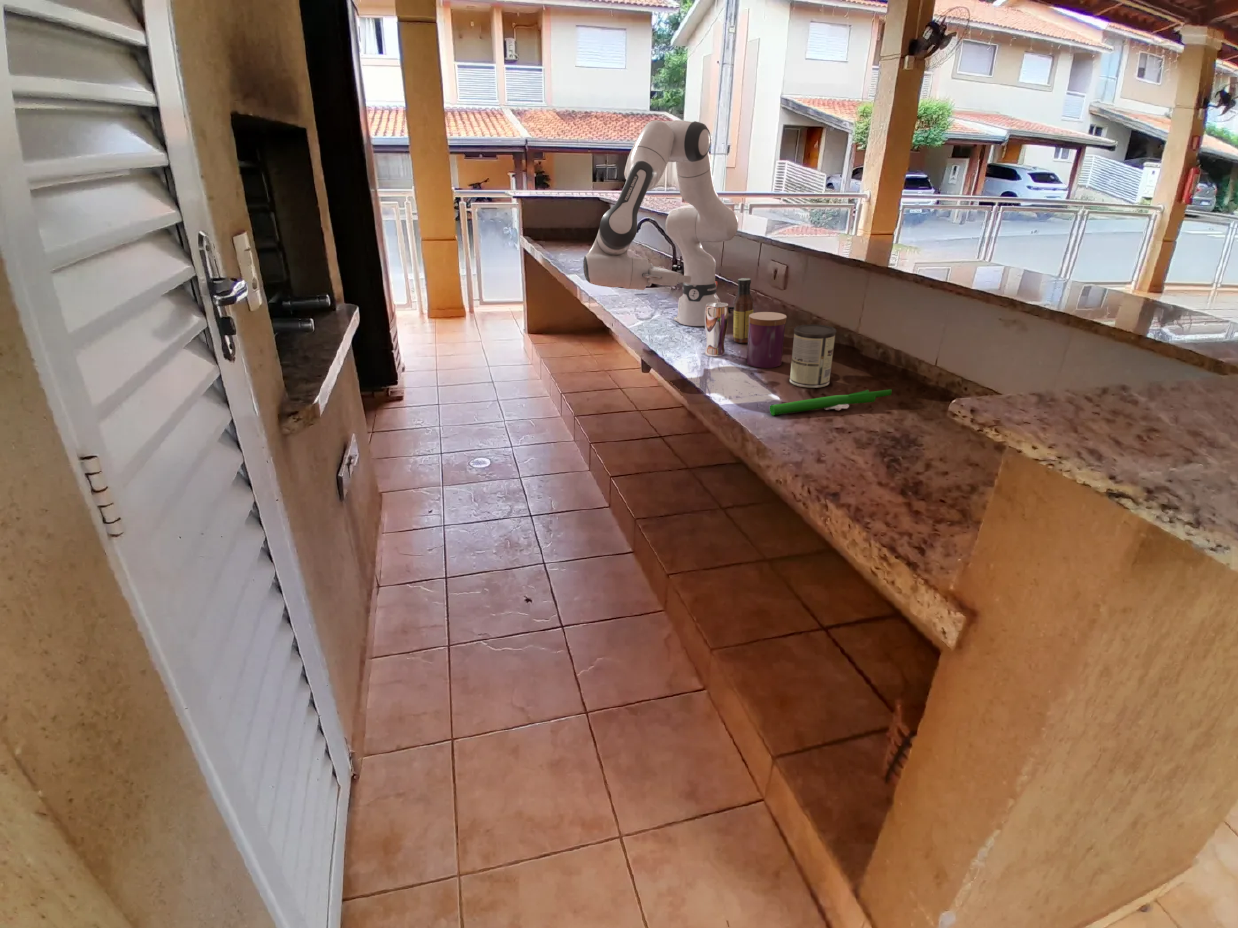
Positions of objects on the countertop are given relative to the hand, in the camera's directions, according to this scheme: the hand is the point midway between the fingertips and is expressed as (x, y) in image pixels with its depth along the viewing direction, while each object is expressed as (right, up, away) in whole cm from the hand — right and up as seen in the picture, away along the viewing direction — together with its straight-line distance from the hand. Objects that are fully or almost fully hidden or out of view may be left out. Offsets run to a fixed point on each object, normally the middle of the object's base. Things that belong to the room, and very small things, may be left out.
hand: (686, 278), depth 178 cm
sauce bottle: (+21, -14, +22) cm, 34 cm away
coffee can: (+31, -32, -16) cm, 47 cm away
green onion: (+30, -41, -33) cm, 61 cm away
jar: (+23, -24, +1) cm, 33 cm away
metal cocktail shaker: (+10, -20, +10) cm, 25 cm away
